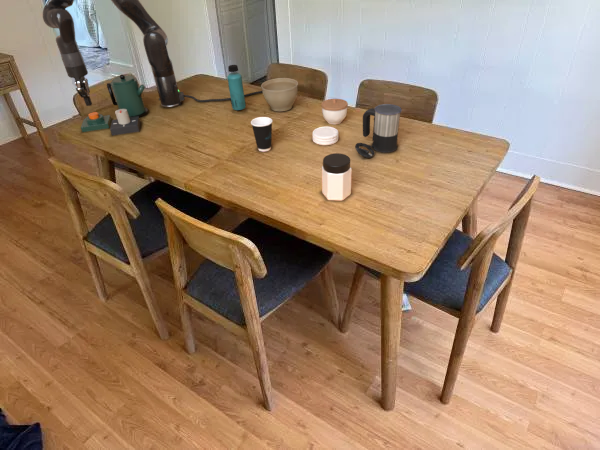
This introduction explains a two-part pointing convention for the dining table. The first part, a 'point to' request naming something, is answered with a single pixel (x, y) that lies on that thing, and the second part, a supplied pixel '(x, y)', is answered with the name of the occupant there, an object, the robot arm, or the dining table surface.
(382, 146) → the milk frother
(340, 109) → the trinket box
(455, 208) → the dining table surface
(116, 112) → the dial
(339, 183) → the jar
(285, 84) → the planter bowl
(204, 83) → the dining table surface
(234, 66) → the beverage bottle
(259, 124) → the dixie cup
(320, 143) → the coaster
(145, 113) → the kettle
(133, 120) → the dial base
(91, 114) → the button
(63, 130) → the dining table surface
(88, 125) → the switch block
